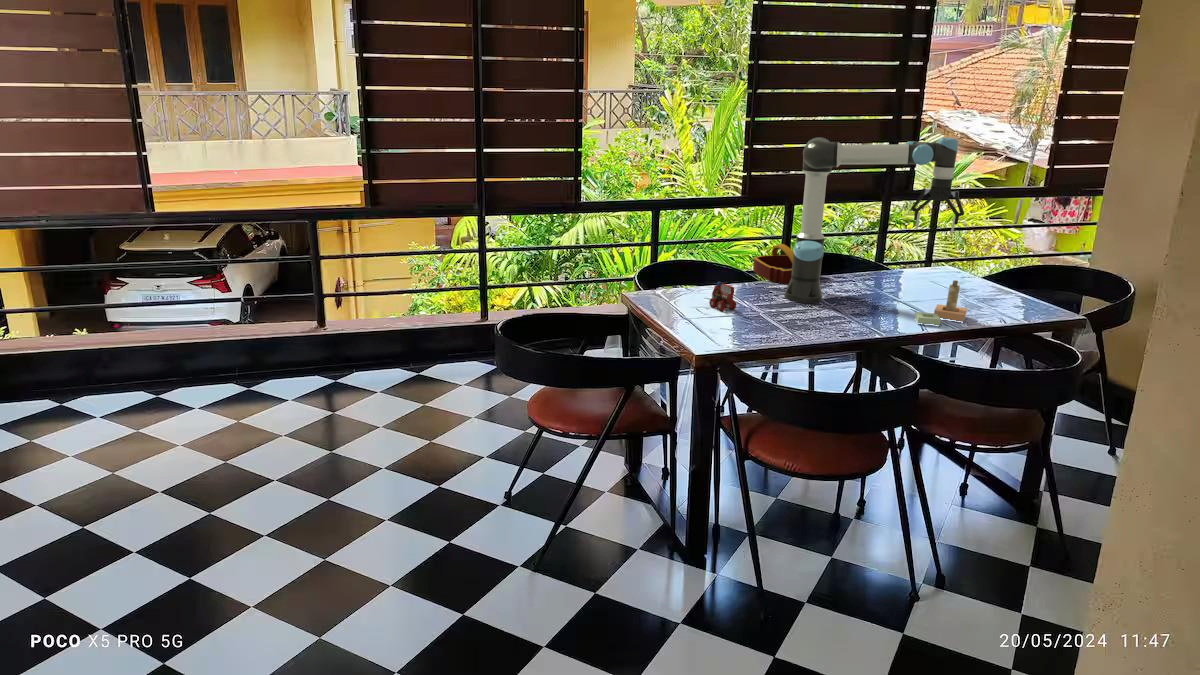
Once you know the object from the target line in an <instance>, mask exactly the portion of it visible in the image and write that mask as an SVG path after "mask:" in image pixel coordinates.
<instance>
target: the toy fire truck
mask: <svg viewBox="0 0 1200 675" xmlns="http://www.w3.org/2000/svg"><path fill="white" fill-rule="evenodd" d="M734 294H735V288H734V286H732V285H729V284H727V283H722V282H721V281H717V283H716V285H714V288H713V290H712V293H711V298H709V306H710V308H712V309H717V311H718V312H724V311H725V309H729V310H730V311H735V310H736V308H737V302H736V300H735V299H734Z"/></svg>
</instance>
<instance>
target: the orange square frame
mask: <svg viewBox="0 0 1200 675" xmlns="http://www.w3.org/2000/svg"><path fill="white" fill-rule="evenodd" d="M945 310H946V305H945V304H936V306H935V308H934V311H933V313H934V314H938V316H939V317H940V318H943V319H950V320H956V321H964V322H965V320H964V318H965V319H966V316H965V315H967V310H968V308H965V307H960V306H956V311H955V312H952V311H945Z"/></svg>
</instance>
